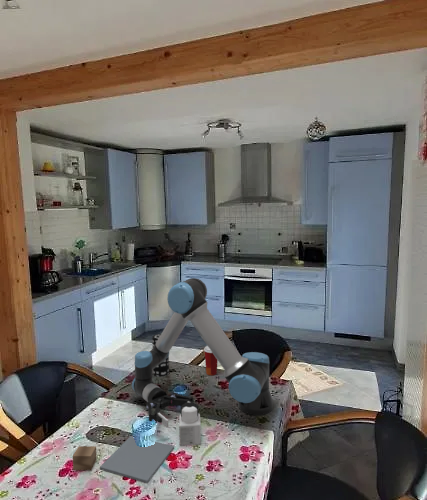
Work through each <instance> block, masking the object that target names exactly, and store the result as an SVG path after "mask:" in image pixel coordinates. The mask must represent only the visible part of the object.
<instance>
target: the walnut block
mask: <svg viewBox="0 0 427 500" xmlns="http://www.w3.org/2000/svg"><path fill="white" fill-rule="evenodd" d="M97 455H98V454H97V446H94V445H93V446H88V445H87V446H85V445H82V446H77V448H76V450H75V452H74V453H73V455H72V468H73V469H72V470H73V471H92V470H93V468H94V466H95V464H96V462H97V460H98V457H97Z"/></svg>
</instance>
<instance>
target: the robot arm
mask: <svg viewBox="0 0 427 500" xmlns="http://www.w3.org/2000/svg"><path fill="white" fill-rule="evenodd" d="M207 295H208V288H207V286H206V284H205V282H204V281H203V280H201V279H199V278H195V277H192V278H188V279H186V280H183V281H181V282H178V283H176V284H175V285H173V286H172V287H170V289H169V291H168V294H167V304H168V306H169V308H170V310H172V312H173V314H172V315H171V317H170V319H169V320H168V322H167V324H165V328H163V330H162V332H161V333H160V334H161V335H160V337H159V339H158V340H157V342H156V344H155V345H154V347H153V346H152V349H151V350H150V351H147V350H141V351H140V352H139V351H138V352H136V354H134V355H135V356H134V373H135V376H134V379H133V380H132V382H131V388H132V390H133V391H134V392H135V394H136V395H137V396H139V397H140V398H142V399H143V400H144V401H145V402H146V404H145V405H146V410H147V411H148V421H149V422H152V421H154V420H155V421H156V422H155V423H159V424H162V426H163V427H165V428H169V419H168V418H166V417H165V416H164V415H163V414H162V413H160V412H161V411H162V409H165V408H167V407H174V406H178V407H179V406H180V407H181V406H182V405H183V404H185V403H189V402H191V403H194V397H192V396H188V395H184V394H183V395H182V394H179V393H177V392H173V393H172V395H168V394H167V392H166V391H165V390H164V389H163V388H161V387H159V385H157V384H155V383H154V382H153V378H154V377H153V376H154V375H153V369H154V368H155V367H157V366H158V365H159V364H160V363H162V362H163V361H165V360H166V358H167V357H168V356H170V351H171V350H172V348H173V347H174V344H175V343H176V341H177V340H178V338H179V336H180V335H181V333H182V332H183V330H184V329H185V327H186V325H187V324H188V322H190V323H191V324H192V326H193V327H194V328H195V331H197V333H198V334H199V336H200V337H201V339H202V340H203V341H204V343H205V344H206V346H208V347H209V349H210V350H211V351H212V353H213V354H214V356H215V357H216V359H217V360H218V361H217V362H218V363H219V364H220V365H221V367H222V369H223V370H224V375H223V376H224V378H225V380H226V381H227V382H228V392H229V394H230V395H231V397H232V398H233V399H234V400H235V401H237V406H238V408H239V410H240V411H242V412H243V413H245V414H249V415H253V416H254V415H255V416H261V415H266V414H268V413H270V412H271V411H273V409H274V400H273V397H272V395H271V394H272V393H271V391H270V357H269V356H268V355H267V354H265V353H262V352H257V351H254V352H253V351H251V352H250V351H249V352H245V353H243V354H242V355H241V354H240V353H239V351H238V350H237V348H236V346H234V344H233V342H232V341H231V340H230V339H229V336H228V335H227V334H226V333H225V331H224V330H223V328H222V327H221V325H220V324H219V322H217V320H216V319H215V317H214V315H212V313H211V312H210V310H209V309H208V301H207V300H206V298H207ZM153 408H154V412H153V411H152V410H153Z"/></svg>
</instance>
